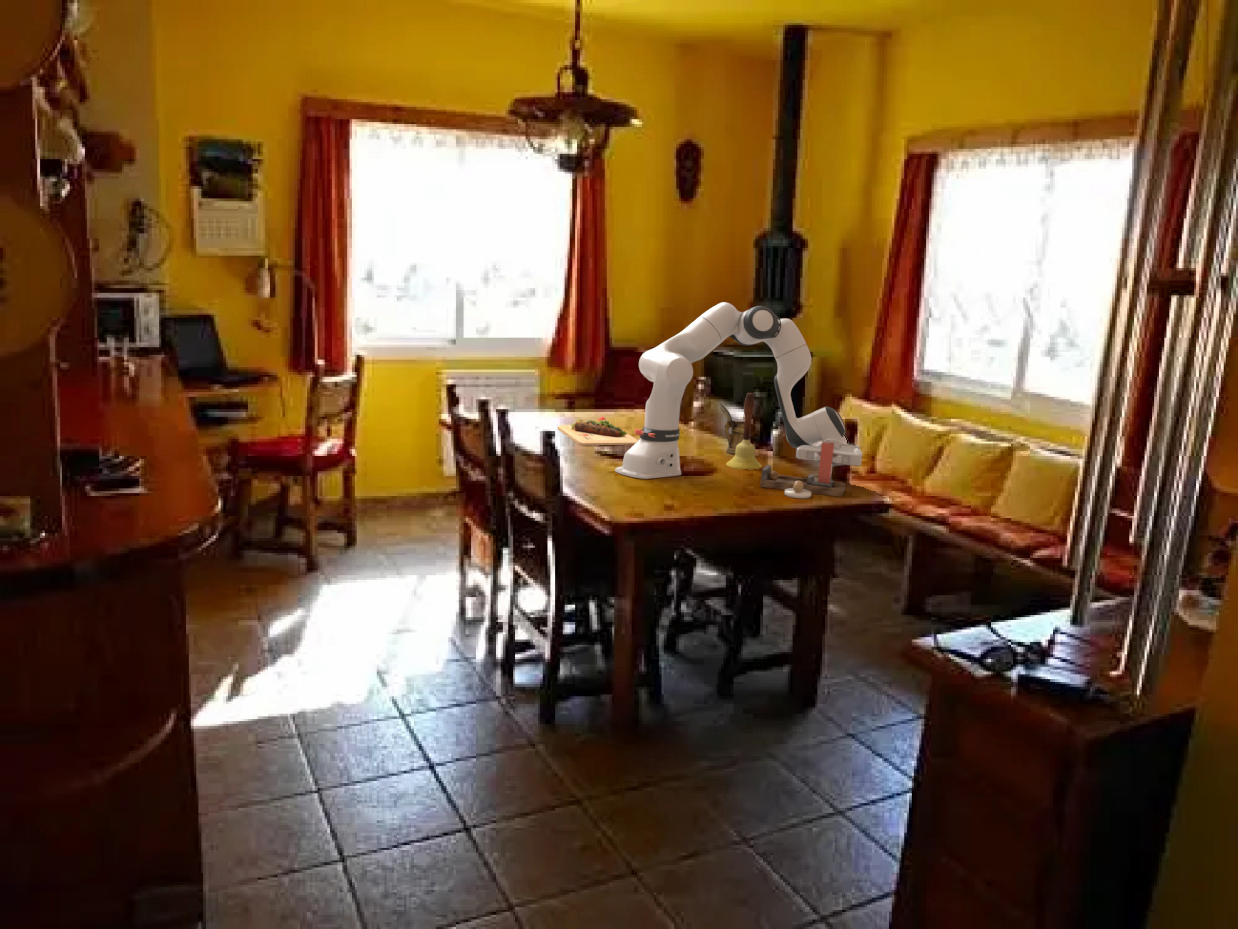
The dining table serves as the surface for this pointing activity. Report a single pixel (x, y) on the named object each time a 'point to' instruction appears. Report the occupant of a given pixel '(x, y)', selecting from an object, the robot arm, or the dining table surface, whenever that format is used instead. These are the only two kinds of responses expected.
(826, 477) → the jaw slider
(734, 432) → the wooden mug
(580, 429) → the cutting board
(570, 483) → the dining table surface
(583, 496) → the dining table surface
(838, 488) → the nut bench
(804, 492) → the nut dish
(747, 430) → the handbell
